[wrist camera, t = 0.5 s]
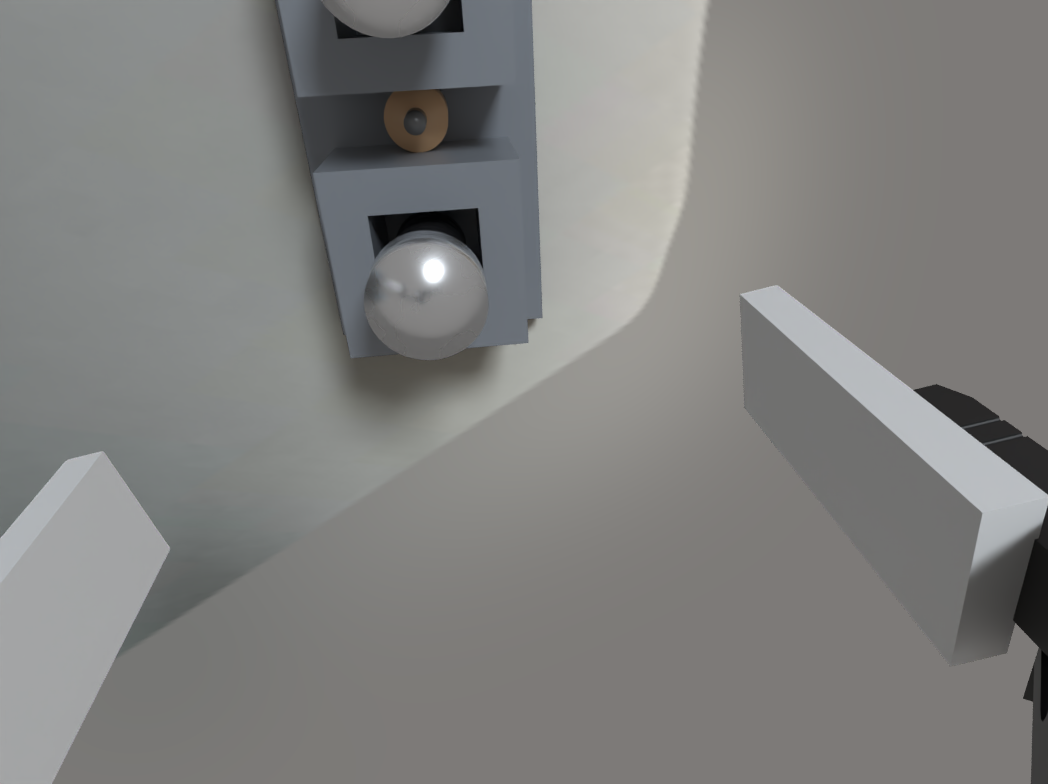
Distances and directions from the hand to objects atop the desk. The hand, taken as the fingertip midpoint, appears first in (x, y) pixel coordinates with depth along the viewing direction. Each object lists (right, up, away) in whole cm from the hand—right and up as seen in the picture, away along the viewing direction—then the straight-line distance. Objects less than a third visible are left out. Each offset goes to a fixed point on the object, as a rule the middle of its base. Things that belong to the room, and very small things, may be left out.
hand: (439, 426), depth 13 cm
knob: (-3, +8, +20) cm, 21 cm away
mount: (-4, +16, +21) cm, 27 cm away
